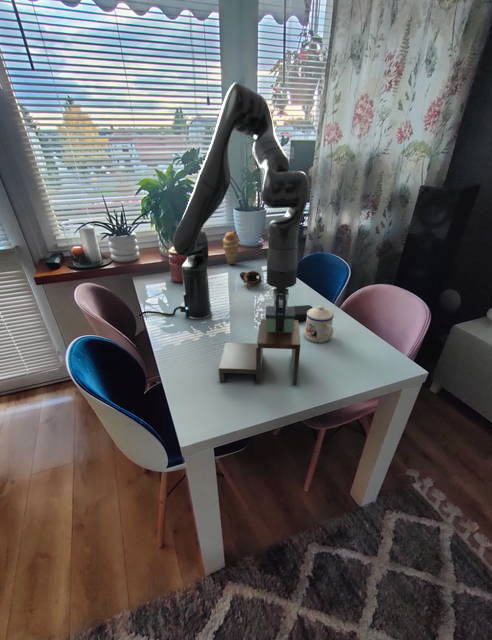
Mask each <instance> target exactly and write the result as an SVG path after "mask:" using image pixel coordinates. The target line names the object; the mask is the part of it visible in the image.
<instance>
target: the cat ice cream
mask: <svg viewBox="0 0 492 640" xmlns="http://www.w3.org/2000/svg"><path fill="white" fill-rule="evenodd" d="M239 243H240V240H239V238H237V236H236V230H233V231H228V230H226V229H225V235H224V238H223V239H222V244H223V246H222V247H223V250H224V254H225V259H226V261H227V263H228V264H229V265H233V264H235V263H236V262H237V260H236V259H237V258H238V253H239V247H240V246H239Z"/></svg>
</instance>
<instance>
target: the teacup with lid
mask: <svg viewBox="0 0 492 640" xmlns="http://www.w3.org/2000/svg"><path fill="white" fill-rule="evenodd" d="M306 315H307V320H305V321H306V322H305V331H304V336H305V338H306V340H307V341H310V342H312V343H324V342H328V341H329V340H330V339H331V337H332V336H333V334H334V328H333V326H332V325H333V319H334V316H335V315H334V313H333V311H332V310H330V309H328V308H325V307H324V305H321V304H320V305H318V306H316V307H313V308H312V309H310V310H308V311H307V313H306Z"/></svg>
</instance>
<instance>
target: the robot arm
mask: <svg viewBox="0 0 492 640" xmlns="http://www.w3.org/2000/svg"><path fill="white" fill-rule="evenodd" d="M234 131H236V132H238V133H241V134H243V135H245V136H248V137H250V138H252V139H253V140H254V142H253V145H252V153H251V154H252V159H253V162H254V165H255V167H256V169H257V171H258V174H259V177H260V196H261V200H262V202H263V203H264V205H265V206H266V207H268V208H269V209H287V210H286V212H285V214H284V215H282V216H280V217H278V218H275V219H272V220H271V221H269V223H268V235H267V236H268V237H267V239H268V241H267V243H268V244H267V253H266V284H267V285H268V286H269V287H272V288H273V290H272V291H273V292H272V293H273V294H272V297H273V306H274V310H275V311H276V316H275V320H276V328H275V331H276V332H283V331H284V321H285V319H286V317H285V311H286V310H287V307H288V300H289V296H290V292H289V291H290V290H289V289H290V288H292V287H295V285H296V284H297V277H298V262H299V232H300V226H301V223H302V220H303V216H304V213H305V209H306V206H307V204H308V201H309V197H310V193H311V192H310V191H311V185H310V183H311V182H310V179H309V176H308V175H307V174H306V173H305V172H304V171H301V170H292V171H291V170H290V169H291V167H290V160H289V158H288V155H287V154H286V152H285V150H284V149H283V146H282V145H281V143H280V141H279V139H278V136H277V133H276V129H275V125H274V121H273V117H272V112H271V108H270V106H269V103H268V101H267V99H266V98H265V97H264V96H263V95H261V94H259V93H258V92H256V91H254V90H253V89H252V88H249V87H247V86H246V85H244V84H241V83H240V82H234V83H233V84H232V85H231V86H230V87H229V89H228V91H227V92H226V95H225V97H224V100H223V103H222V106H221V109H220V112H219V116H218V119H217V123H216V126H215V130H214V133H213V136H212V138H211V139H212V140H211V142H210V145H209V148H208V150H207V154H206V156H205V158H204V159H205V160H204V162H203V164H202V166H201V168H200V171H199V174H198V176H197V179H196V181H195V184H194V188H193V191H192V193H191V196H190V198H189V201H188V202H187V203H188V204H187V205H186V209H185V211H184V213H183V216H182V218H181V220H180V222H179V223H178V226H177V227H176V229H175V231H174V234H173V237H172V247H173V246H174V249H175V251H176V253H177V254H178V255H180V256H183V257H187V259H186V261H185V262H184V264H183V265H182V276H183V282H182V283H183V290H184V293H183V301H182V302H181V304H180V306H176V307H174V309H173V311H172V313H167V312H161V311H157V310H156V311H154V310H145V311H142V312H141V313H139V314H138V317H141V316H143V315H145V314H155V315H160V316H167V317H172V316H174V315H176V311H178V310H179V311H180V313H185V318H186V319H191V320H194V321H195V320H196V321H202V320H207V319H208V318H210V317H211V316H212V311H211V310H212V308H211V307H212V303H211V297H210V288H209V287H210V286H209V277H208V275H209V274H208V266H209V260H210V259H209V258H210V257H209V240H208V236H207V234H206V231H205V229H204V228H203V227H204V226H205V224H206V222H208V220H210V218H211V217H212V216H213V215H214V214H215V212H216V211H217V210H219V209H218V208H219V207H220V206H221V204H222V203H223V201H224V199H225V197H226V194H227V192H228V190H229V188H230V185H231V168H230V161H229V144H230V138H231V136H232V133H233V132H234ZM278 313H283V315H277V314H278Z"/></svg>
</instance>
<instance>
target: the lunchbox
mask: <svg viewBox="0 0 492 640" xmlns="http://www.w3.org/2000/svg"><path fill="white" fill-rule="evenodd" d="M277 315H283V313H278V314H277ZM275 316H276V311H275V310H274V305H266V306H265V314H264V317H265V318H264V319H266V332H276V331H275V328H276V320H275ZM285 317H286V319H285V321H284V331H283V332H293V331H294V319H295V310H294V307H290V306H287V310H286V311H285Z"/></svg>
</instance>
